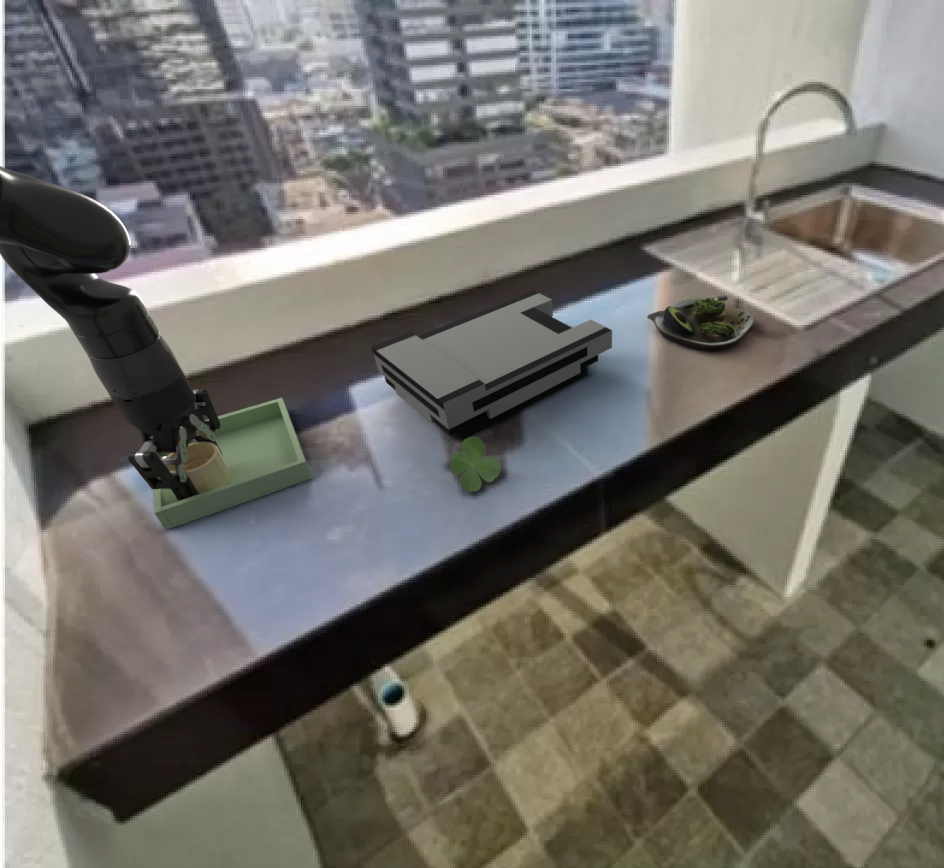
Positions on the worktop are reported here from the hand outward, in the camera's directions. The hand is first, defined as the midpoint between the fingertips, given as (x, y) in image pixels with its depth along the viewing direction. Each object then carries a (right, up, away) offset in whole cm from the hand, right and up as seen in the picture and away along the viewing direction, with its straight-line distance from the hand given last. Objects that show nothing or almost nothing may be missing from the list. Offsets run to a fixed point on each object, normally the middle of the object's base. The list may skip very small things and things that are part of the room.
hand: (204, 481), depth 80 cm
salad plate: (+72, +26, +34) cm, 84 cm away
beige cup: (0, -1, +1) cm, 1 cm away
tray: (+1, +2, +5) cm, 5 cm away
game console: (+36, +16, +21) cm, 45 cm away
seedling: (+35, +1, +3) cm, 36 cm away
